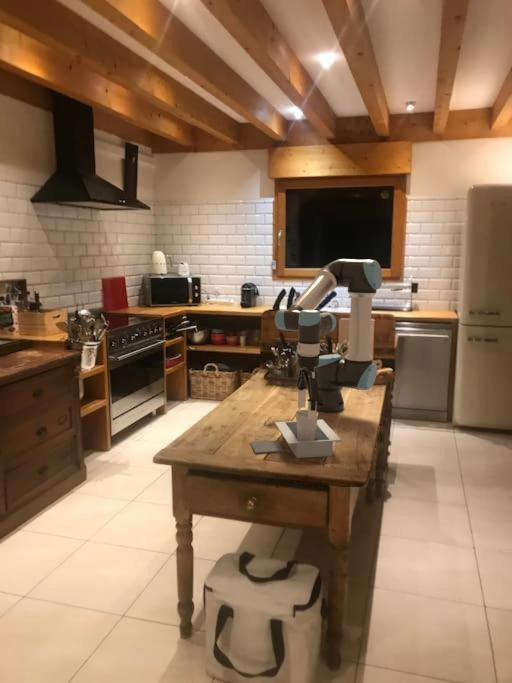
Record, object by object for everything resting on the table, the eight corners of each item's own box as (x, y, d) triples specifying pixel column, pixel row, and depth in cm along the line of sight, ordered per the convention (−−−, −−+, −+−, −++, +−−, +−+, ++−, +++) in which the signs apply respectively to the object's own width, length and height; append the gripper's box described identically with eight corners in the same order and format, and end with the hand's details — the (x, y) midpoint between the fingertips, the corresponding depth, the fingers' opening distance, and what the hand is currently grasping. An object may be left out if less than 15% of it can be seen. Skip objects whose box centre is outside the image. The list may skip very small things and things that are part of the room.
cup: (302, 450, 195) (303, 418, 193) (290, 443, 202) (291, 411, 200) (321, 447, 199) (322, 414, 197) (309, 439, 206) (310, 408, 204)
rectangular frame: (322, 433, 213) (322, 419, 212) (340, 455, 192) (341, 439, 191) (274, 436, 209) (274, 422, 208) (288, 458, 188) (288, 443, 187)
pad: (277, 441, 204) (277, 440, 204) (283, 452, 194) (283, 450, 194) (250, 443, 202) (250, 441, 202) (255, 453, 192) (255, 452, 192)
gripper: (289, 347, 206) (287, 403, 209) (307, 362, 181) (305, 424, 185) (309, 347, 207) (307, 402, 211) (329, 361, 183) (327, 423, 187)
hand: (306, 413), depth 198 cm, fingers open, 13 cm apart
